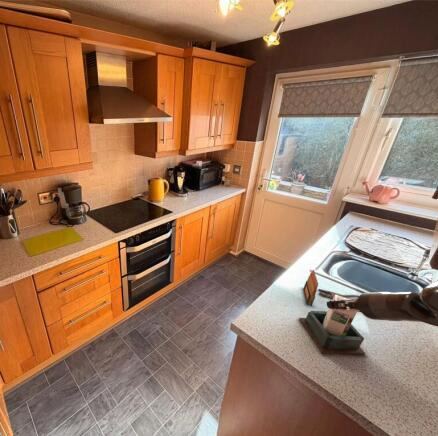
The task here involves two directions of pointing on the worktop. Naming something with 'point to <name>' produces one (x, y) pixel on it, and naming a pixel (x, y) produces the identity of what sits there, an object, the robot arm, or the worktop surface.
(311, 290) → the orange brown flat panel
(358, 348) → the holder
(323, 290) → the pliers
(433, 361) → the worktop surface
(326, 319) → the syrup box
